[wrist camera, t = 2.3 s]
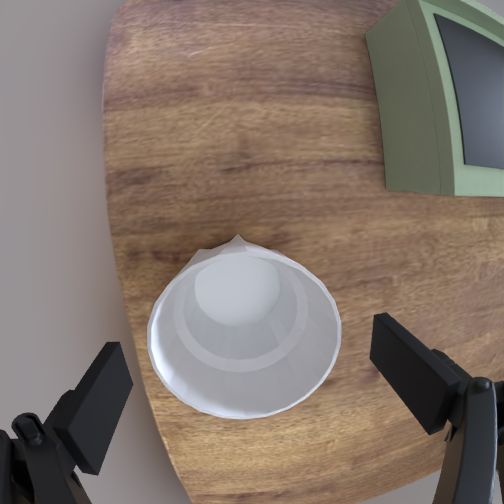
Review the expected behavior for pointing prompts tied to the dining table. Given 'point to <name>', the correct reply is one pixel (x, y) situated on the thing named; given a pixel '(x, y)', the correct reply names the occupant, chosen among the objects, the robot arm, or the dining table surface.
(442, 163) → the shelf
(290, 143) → the dining table surface
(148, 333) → the cup
